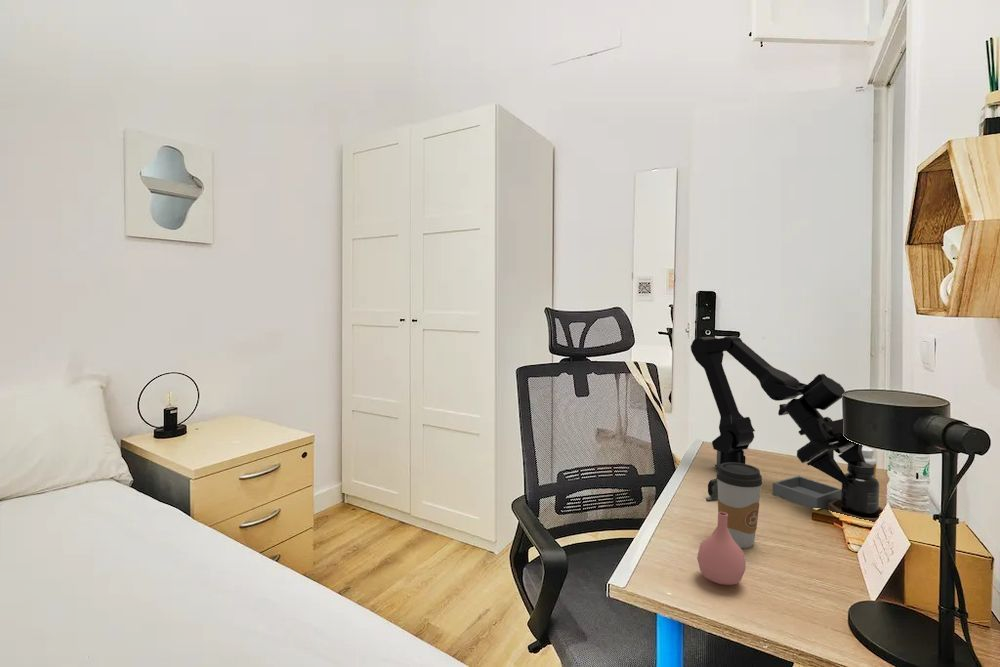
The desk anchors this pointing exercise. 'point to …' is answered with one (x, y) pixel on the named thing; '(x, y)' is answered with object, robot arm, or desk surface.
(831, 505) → the brown shallow dish
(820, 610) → the desk surface
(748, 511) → the coffee cup
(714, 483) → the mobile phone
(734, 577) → the pink vase
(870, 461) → the supplement bottle
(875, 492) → the supplement bottle
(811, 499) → the tray
